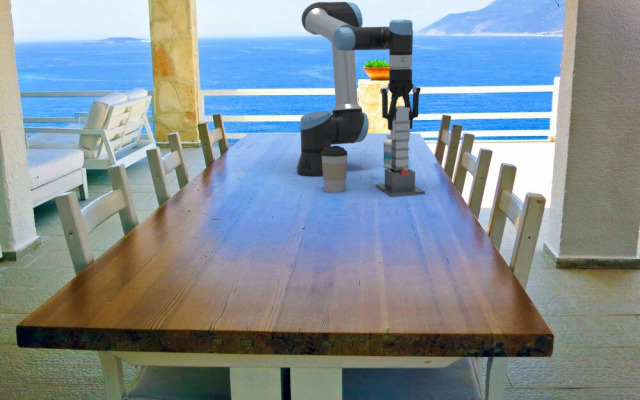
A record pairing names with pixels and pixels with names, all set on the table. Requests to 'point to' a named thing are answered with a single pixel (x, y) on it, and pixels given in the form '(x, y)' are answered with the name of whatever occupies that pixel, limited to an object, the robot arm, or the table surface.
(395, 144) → the column
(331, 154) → the coffee cup
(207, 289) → the table surface
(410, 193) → the stand
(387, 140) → the pill bottle
